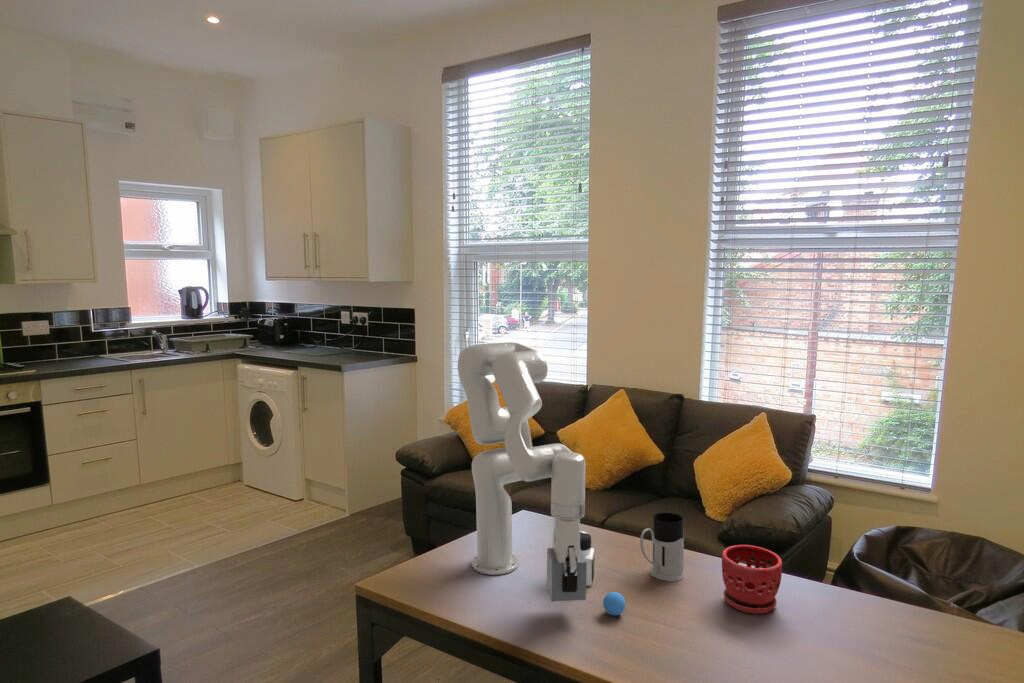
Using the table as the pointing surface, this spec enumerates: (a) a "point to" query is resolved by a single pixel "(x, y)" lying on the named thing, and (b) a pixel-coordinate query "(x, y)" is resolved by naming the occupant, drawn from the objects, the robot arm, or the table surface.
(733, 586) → the plant pot
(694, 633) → the table surface
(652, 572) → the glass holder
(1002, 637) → the table surface
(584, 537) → the medicine bottle
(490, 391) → the robot arm
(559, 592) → the gray cube
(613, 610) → the ball
